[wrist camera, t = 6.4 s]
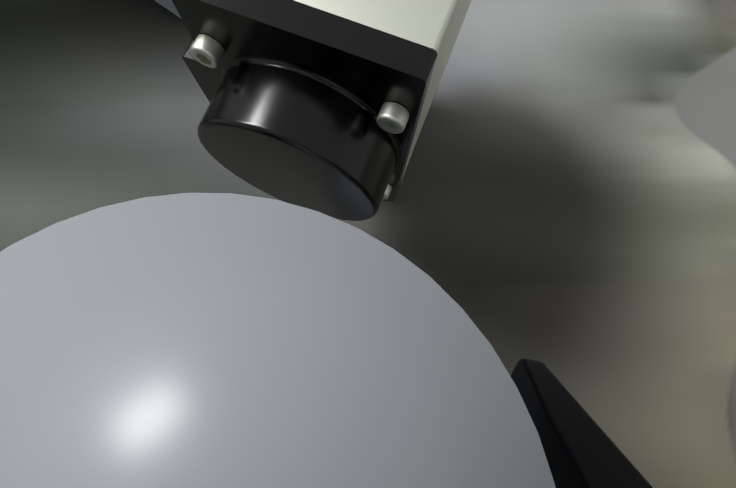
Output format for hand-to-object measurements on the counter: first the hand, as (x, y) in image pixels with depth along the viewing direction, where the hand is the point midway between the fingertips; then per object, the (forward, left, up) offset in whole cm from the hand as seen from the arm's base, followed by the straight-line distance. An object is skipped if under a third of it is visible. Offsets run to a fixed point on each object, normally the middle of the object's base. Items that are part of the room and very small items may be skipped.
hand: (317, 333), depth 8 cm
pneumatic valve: (+9, 0, -9) cm, 13 cm away
